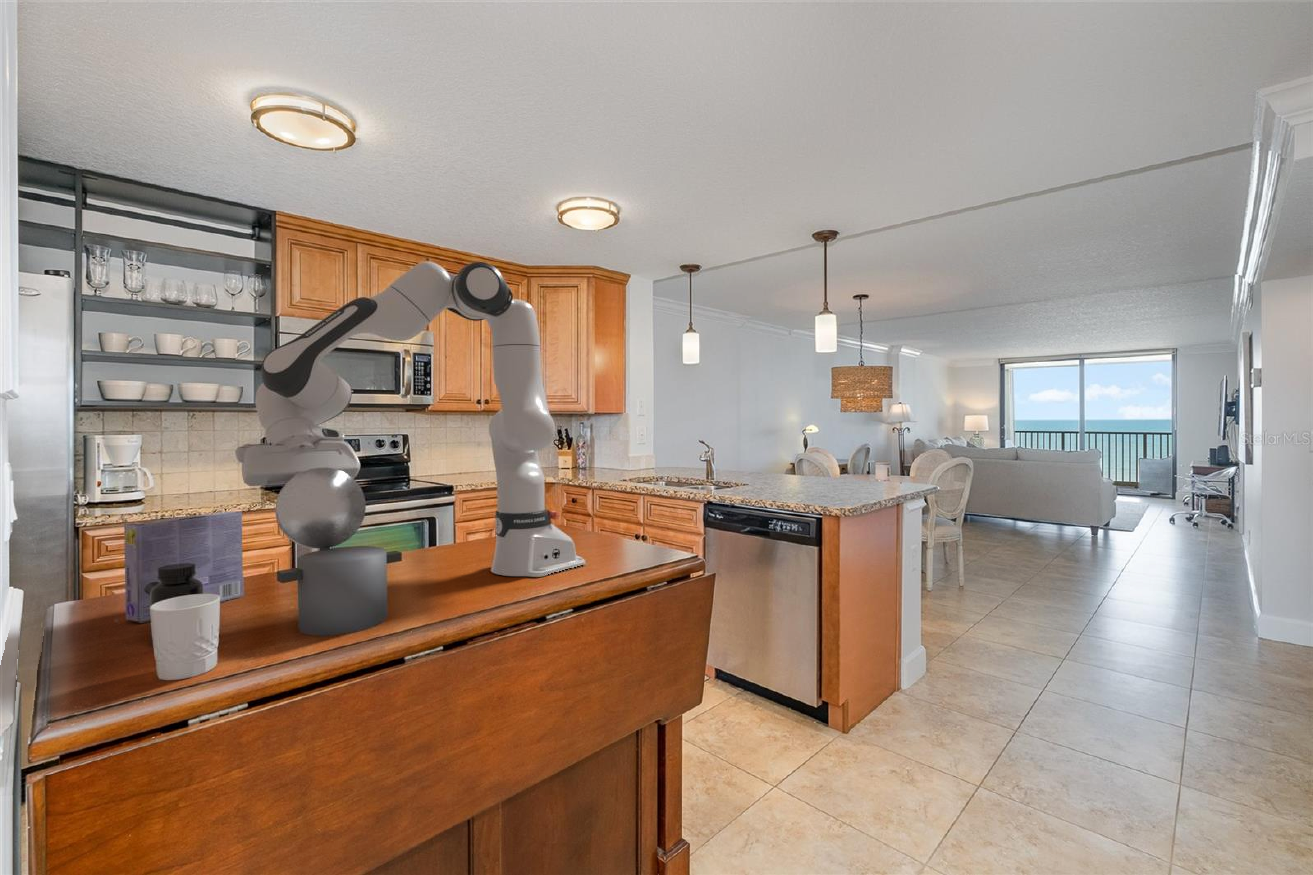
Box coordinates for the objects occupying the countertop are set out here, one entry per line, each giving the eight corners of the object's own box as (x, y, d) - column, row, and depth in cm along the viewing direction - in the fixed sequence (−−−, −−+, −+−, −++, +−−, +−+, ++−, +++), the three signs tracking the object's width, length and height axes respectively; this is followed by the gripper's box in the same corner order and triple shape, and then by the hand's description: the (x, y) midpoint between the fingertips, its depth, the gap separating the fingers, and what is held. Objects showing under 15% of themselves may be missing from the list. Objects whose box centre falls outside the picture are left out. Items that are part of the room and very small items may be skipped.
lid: (369, 541, 116) (365, 541, 117) (361, 465, 117) (358, 466, 118) (281, 554, 104) (278, 555, 105) (275, 470, 105) (272, 471, 106)
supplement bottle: (207, 638, 98) (205, 566, 97) (153, 649, 93) (150, 573, 93) (201, 627, 103) (199, 559, 102) (149, 638, 98) (147, 566, 97)
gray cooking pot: (383, 600, 118) (381, 540, 117) (417, 615, 109) (416, 550, 108) (267, 627, 103) (265, 558, 102) (295, 647, 94) (294, 572, 93)
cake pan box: (235, 592, 124) (232, 508, 123) (250, 595, 122) (248, 509, 121) (123, 621, 106) (120, 523, 105) (139, 625, 104) (136, 525, 103)
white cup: (167, 687, 80) (165, 614, 80) (141, 675, 84) (139, 605, 83) (232, 666, 87) (230, 598, 86) (205, 655, 91) (203, 590, 90)
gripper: (236, 433, 111) (253, 489, 105) (350, 431, 126) (371, 480, 120) (230, 456, 114) (246, 512, 108) (342, 451, 129) (362, 500, 123)
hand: (313, 495), depth 114 cm, fingers closed
